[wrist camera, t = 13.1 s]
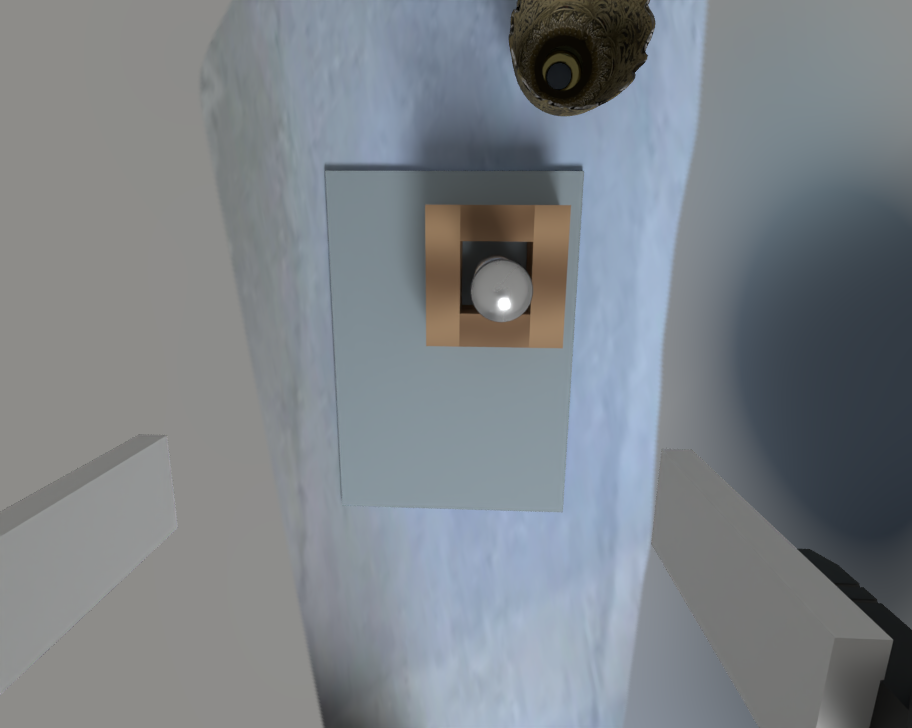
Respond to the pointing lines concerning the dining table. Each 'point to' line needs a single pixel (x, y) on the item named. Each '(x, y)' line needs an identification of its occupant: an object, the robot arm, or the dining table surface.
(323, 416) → the dining table surface
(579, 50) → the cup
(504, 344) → the wooden block with hole
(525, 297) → the metal cylinder rod
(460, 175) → the mat
